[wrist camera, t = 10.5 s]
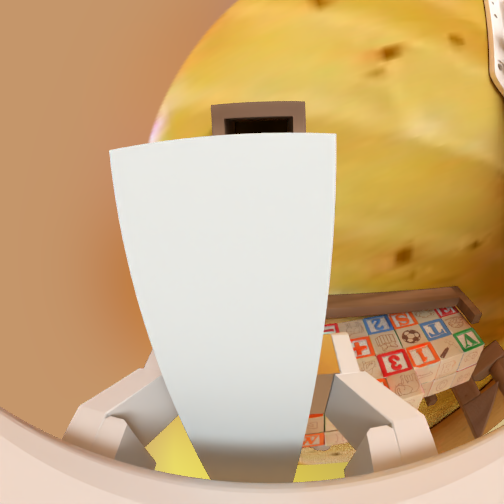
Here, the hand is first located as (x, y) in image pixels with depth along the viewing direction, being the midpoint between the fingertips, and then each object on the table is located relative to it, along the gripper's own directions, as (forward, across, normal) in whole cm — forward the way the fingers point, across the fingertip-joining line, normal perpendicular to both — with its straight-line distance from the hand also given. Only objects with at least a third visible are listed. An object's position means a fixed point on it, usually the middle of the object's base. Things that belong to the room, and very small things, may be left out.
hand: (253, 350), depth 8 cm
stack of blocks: (+19, -13, +16) cm, 28 cm away
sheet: (+17, 0, 0) cm, 17 cm away
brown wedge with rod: (+19, -35, +26) cm, 47 cm away
